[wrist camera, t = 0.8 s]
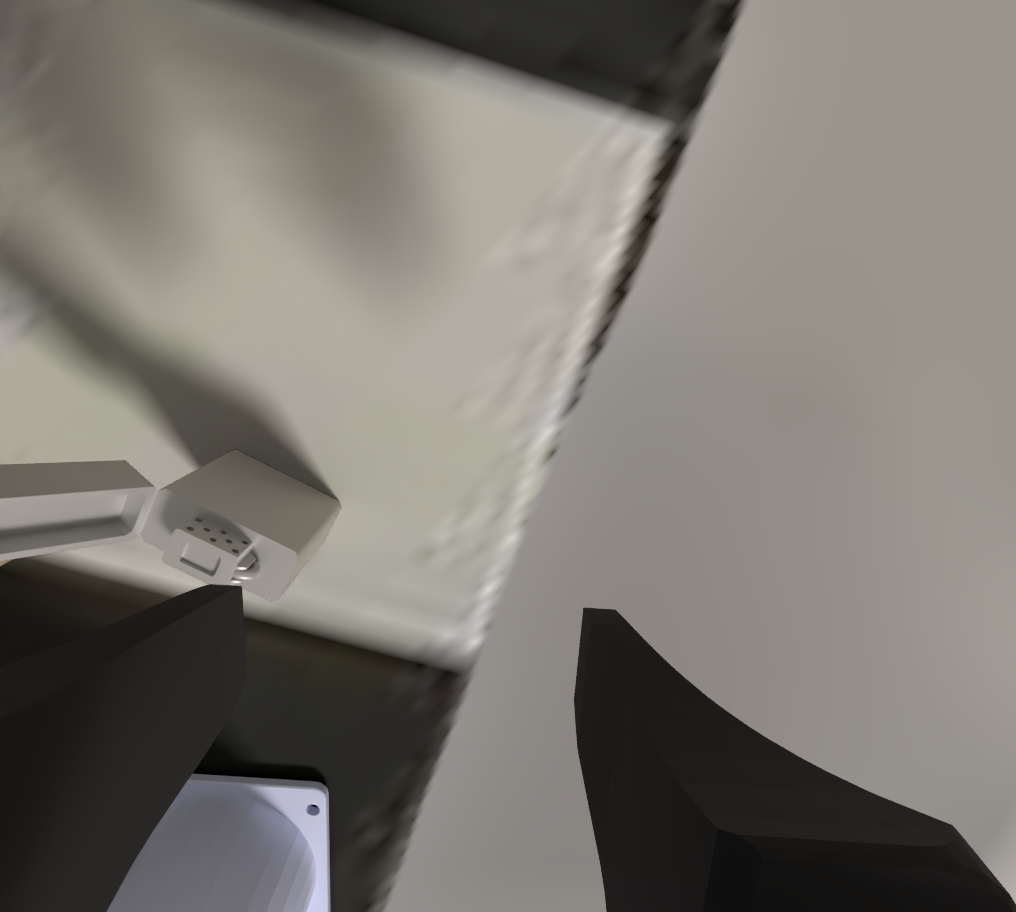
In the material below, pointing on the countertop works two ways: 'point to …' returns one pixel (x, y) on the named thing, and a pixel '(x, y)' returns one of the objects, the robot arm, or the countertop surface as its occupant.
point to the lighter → (172, 517)
